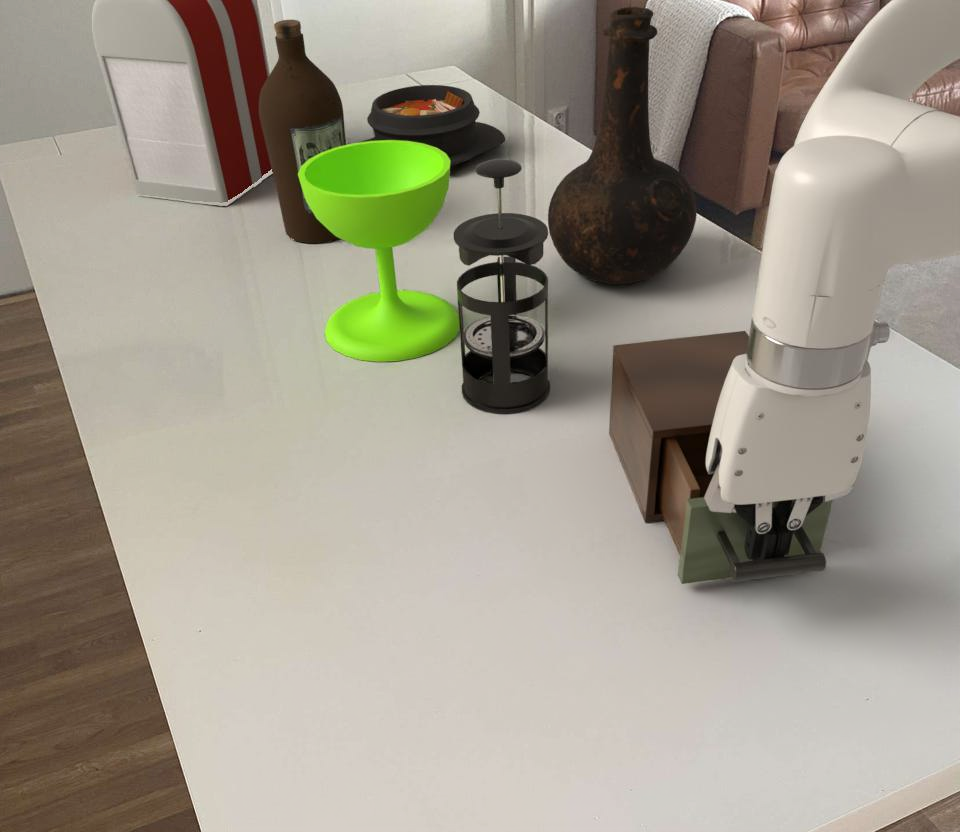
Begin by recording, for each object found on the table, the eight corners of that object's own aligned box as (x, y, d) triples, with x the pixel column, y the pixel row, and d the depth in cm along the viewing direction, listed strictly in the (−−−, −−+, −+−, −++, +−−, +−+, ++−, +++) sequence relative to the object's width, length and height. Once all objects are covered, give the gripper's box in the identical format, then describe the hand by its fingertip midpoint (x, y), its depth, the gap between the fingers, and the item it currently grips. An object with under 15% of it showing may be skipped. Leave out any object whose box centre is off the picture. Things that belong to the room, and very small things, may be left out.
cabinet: (782, 506, 91) (801, 413, 84) (645, 523, 90) (652, 431, 83) (732, 418, 101) (745, 330, 94) (608, 433, 100) (613, 345, 93)
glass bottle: (612, 316, 117) (625, 45, 97) (518, 265, 128) (513, 12, 108) (721, 270, 124) (754, 9, 104) (623, 226, 135) (637, -19, 115)
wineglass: (482, 341, 114) (474, 177, 102) (348, 374, 110) (322, 209, 98) (432, 284, 125) (419, 130, 112) (308, 313, 121) (280, 157, 109)
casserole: (478, 126, 165) (476, 69, 159) (525, 163, 153) (524, 103, 147) (332, 154, 159) (324, 96, 153) (368, 194, 147) (360, 133, 141)
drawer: (841, 610, 79) (862, 533, 74) (700, 628, 79) (711, 552, 73) (762, 473, 93) (776, 398, 87) (641, 487, 92) (647, 413, 87)
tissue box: (133, 196, 151) (73, -15, 132) (199, 154, 162) (152, -46, 143) (227, 207, 146) (178, -9, 127) (288, 163, 157) (252, -42, 138)
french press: (548, 417, 103) (548, 186, 86) (456, 417, 103) (439, 187, 87) (552, 359, 111) (553, 137, 95) (467, 359, 112) (453, 140, 96)
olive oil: (268, 228, 140) (228, 23, 122) (334, 207, 144) (305, 6, 126) (304, 253, 133) (267, 40, 116) (372, 231, 137) (347, 22, 120)
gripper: (893, 309, 69) (838, 521, 82) (679, 331, 68) (658, 542, 81) (942, 363, 64) (875, 581, 76) (711, 389, 63) (683, 605, 76)
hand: (764, 561), depth 79 cm, fingers closed
